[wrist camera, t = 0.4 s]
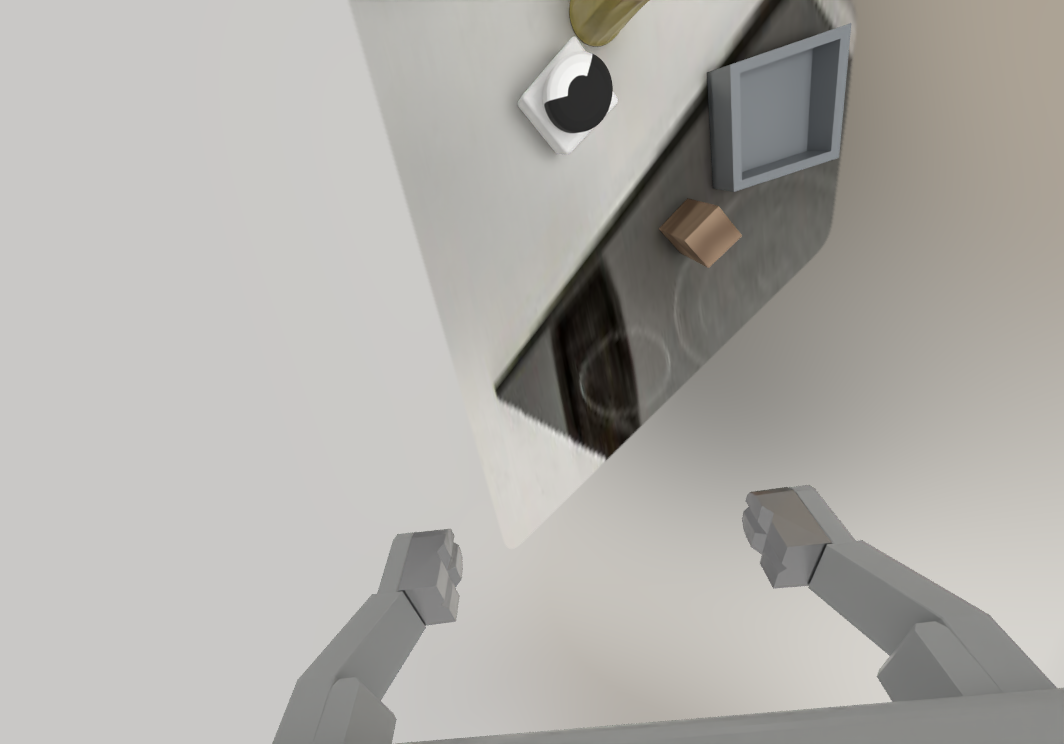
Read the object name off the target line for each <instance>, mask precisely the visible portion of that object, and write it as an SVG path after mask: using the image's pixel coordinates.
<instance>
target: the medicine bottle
mask: <svg viewBox="0 0 1064 744" xmlns="http://www.w3.org/2000/svg"><path fill="white" fill-rule="evenodd" d="M617 103H618V98H617V96H616V95H615V93H614V92H613V87H612V80H611V76H610V73H609V71H608V69H607V67H606V65H605V64H604V62H603V61H602V60H601V59H600V58H598V57H597V56H596V55H594V54H592V53H589V52H586V51H585V49H584V48H583V46H582V45H581V43H580V42H579V40H578V39H577V38H576V37H575V36H573V37H571V39H570V40H569V41H568V42H567V43H566V44H565V46H564V47H563V48H562V49H561V50H560V51H559V53H558V54H557V55H556V56H555V57H554V58H553V60H552V61H551V62H550V63H549V64H548V65H547V67H546V68H545V69H544V70H543V71H542V73H541V74H540V75H539V76H538V77H537V78H536V80H535V81H534V82H533V83H532V84H531V85H530V87H529V88H528V89H527V90H526V91H525V92H524V94H523V95H522V96H521V98H520V99H519V101H518V107H519V108H520V109H521V110H522V112H523V113H524V114H525V115H526V117H527V118H528V119H529V120H530V122H531V123H532V124H533V125H534V127H535V128H536V129H537V130H538V131H539V133H540V134H541V135H542V136H543V138H544V139H545V140H546V141H547V143H548V144H549V145H550V146H551V148H552V149H553V150H554V151H555V153H557V154H566V155H568V154H570V153H571V152H572V151H573V150H574V149H575V148H576V147H577V146H578V145H579V143H580V142H581V141H582V140H583V139H584V138H585V137H586V136H587V135H588V134H589V133H590V132H591V131H592V130H593V129H594V128H595V126H597V125H598V124H599V123H600V122H601V121H602V120H603V118H604V117H605V116H606V115H607V114H608V113H609V112H610V111H611V109H612V108H613V107H614V106H615V105H616V104H617Z"/></svg>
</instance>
